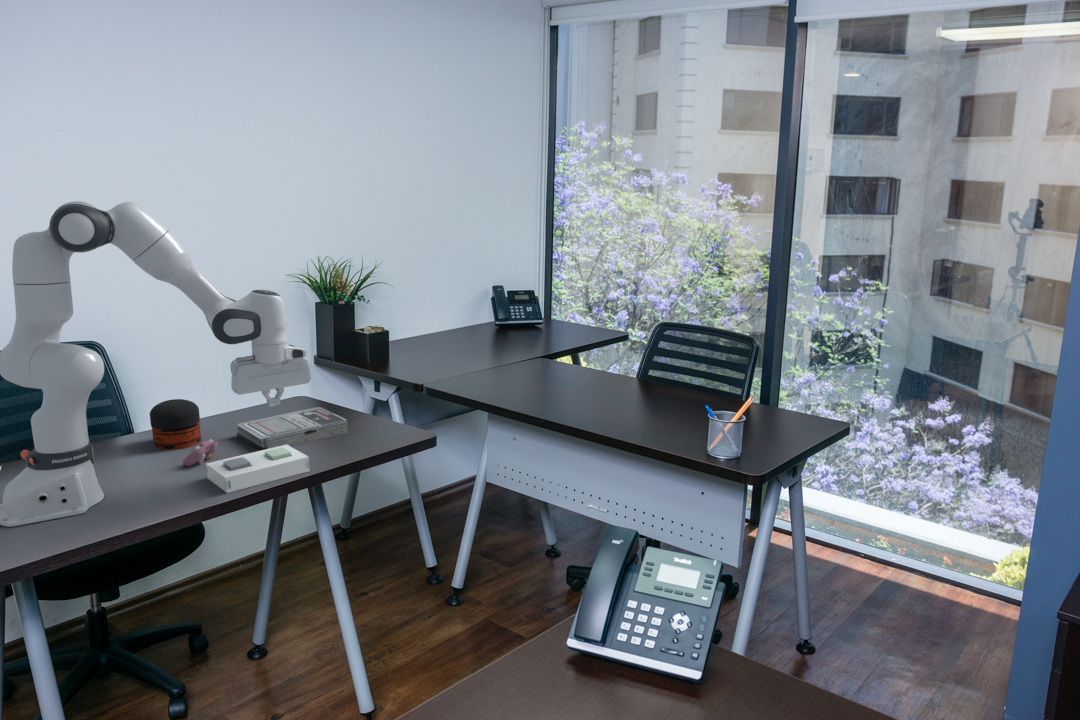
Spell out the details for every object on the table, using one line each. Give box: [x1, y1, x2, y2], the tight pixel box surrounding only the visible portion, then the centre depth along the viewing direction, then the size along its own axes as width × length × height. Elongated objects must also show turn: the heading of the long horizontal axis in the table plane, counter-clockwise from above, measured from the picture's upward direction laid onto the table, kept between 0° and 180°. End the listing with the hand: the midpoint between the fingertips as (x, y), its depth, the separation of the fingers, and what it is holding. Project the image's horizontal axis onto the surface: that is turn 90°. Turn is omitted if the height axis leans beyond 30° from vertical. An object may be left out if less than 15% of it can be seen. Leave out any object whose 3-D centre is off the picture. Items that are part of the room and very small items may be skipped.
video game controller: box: [182, 438, 220, 467], centre depth 219 cm, size 10×5×7 cm, turn 169°
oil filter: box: [149, 398, 202, 451], centre depth 233 cm, size 13×12×13 cm
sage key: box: [265, 447, 291, 461], centre depth 213 cm, size 5×5×3 cm
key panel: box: [205, 445, 311, 494], centre depth 210 cm, size 22×13×4 cm, turn 132°
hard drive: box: [236, 406, 349, 451], centre depth 241 cm, size 18×27×4 cm
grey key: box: [223, 457, 251, 471], centre depth 206 cm, size 5×5×3 cm
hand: (273, 405), depth 209 cm, fingers closed
